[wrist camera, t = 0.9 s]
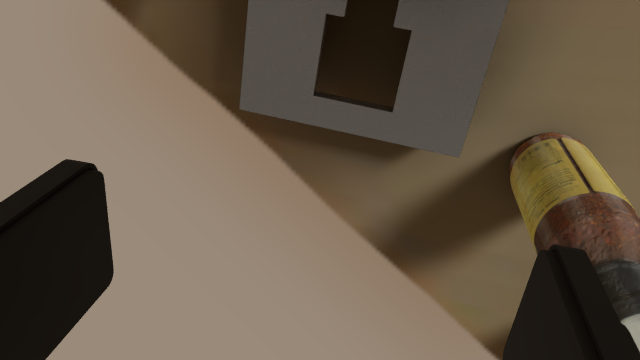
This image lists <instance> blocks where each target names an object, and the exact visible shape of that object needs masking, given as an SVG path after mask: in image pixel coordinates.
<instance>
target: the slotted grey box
mask: <svg viewBox="0 0 640 360" xmlns="http://www.w3.org/2000/svg"><path fill="white" fill-rule="evenodd" d="M348 2H349V0H248V11H247V23H246V35H245V47H244V59H243V71H242V83H241V95H240V107H239V109H240V110H245V111H249V112H254V113H258V114H263V115H268V116H272V117H277V118H281V119H286V120H290V121H295V122H299V123H304V124H309V125H313V126H318V127H322V128H327V129H331V130H336V131H340V132H345V133H349V134H354V135H359V136H363V137H368V138H372V139H377V140H381V141H386V142H390V143H395V144H400V145H404V146H409V147H413V148H418V149H422V150H427V151H431V152H436V153H440V154H445V155H450V156H454V157H459V156H460V153H461V150H462V147H463V144H464V141H465V137H466V134H467V131H468V128H469V125H470V122H471V119H472V115H473V112H474V109H475V106H476V103H477V100H478V97H479V93H480V90H481V87H482V84H483V81H484V78H485V74H486V71H487V68H488V65H489V62H490V59H491V56H492V52H493V49H494V46H495V43H496V40H497V37H498V34H499V30H500V27H501V24H502V21H503V18H504V15H505V11H506V8H507V5H508V2H509V0H399V3H398V8H397V12H396V17H395V21H394V26H393V27H396V28H401V29H406V30H411V31H412V32H411V36H410V40H409V44H408V48H407V53H406V57H405V61H404V65H403V70H402V74H401V78H400V82H399V87H398V91H397V95H396V99H395V103H394V108H392V107H388V106H383V105H378V104H374V103H369V102H364V101H360V100H355V99H350V98H345V97H341V96H336V95H331V94H327V93H322V92H317V91H316V89H317V82H318V76H319V70H320V63H321V57H322V50H323V44H324V38H325V31H326V25H327V18H328V14H331V15H336V16H341V17H345V16H346V14H347V8H348Z"/></svg>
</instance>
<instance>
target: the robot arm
mask: <svg viewBox="0 0 640 360" xmlns="http://www.w3.org/2000/svg"><path fill="white" fill-rule="evenodd" d="M112 277H113V260H112V250H111V241H110V232H109V222H108V212H107V202H106V193H105V183H104V177H103V174H102V173H101V172H100V171H98V170H97V168H96V166H95V165H94V164H92V163H86V162H81V161H75V160H68V159H66V160H64V161H62V162H60V163H59V164H57V165H56V166H54V167H53V168H51V169H50V170H48V171H47V172H45V173H44V174H42V175H41V176H39V177H38V178H36V179H35V180H33V181H32V182H30V183H29V184H27V185H26V186H24V187H23V188H21V189H20V190H19V191H17V192H15V193H14V194H12V195H11V196H10V197H8V198H7V199H5V200H4V201H2V202H0V360H45V359H46V358H47V357H48V356H49V355H50V354H51V352H52V351H53V350H54V349H55V348H56V347H57V346H58V344H59V343H60V342H61V341H62V340H63V338H64V337H65V336H66V335H67V334H68V333H69V332H70V330H71V329H72V328H73V327H74V326H75V324H76V323H77V322H78V321H79V320H80V319H81V318H82V316H83V315H84V314H85V313H86V312H87V311H88V309H89V308H90V307H91V306H92V305H93V304H94V303H95V301H96V300H97V299H98V298H99V297H100V296H101V294H102V293H103V292H104V291H105V290H106V289H107V287H108V286H109V285H110V283H111V281H112ZM503 360H640V351H639V349H638V347H637V345H636V343H635V341H634V339H633V337H632V335H631V333H630V332H629V330H628V329H627V327H626V326H625V325H623V324H622V323H621V322H620V320H619V318H618V315H617V313H616V311H615V309H614V307H613V305H612V303H611V301H610V299H609V297H608V295H607V293H606V291H605V289H604V287H603V285H602V283H601V281H600V279H599V277H598V275H597V273H596V271H595V269H594V267H593V265H592V263H591V261H590V259H589V257H588V255H587V253H586V252H585V250H583V249H578V248H572V247H567V246H561V245H555V244H553V245H552V246H551V247H550V248H549V250H540V252H539V253H538V255H537V258H536V261H535V264H534V266H533V269H532V272H531V275H530V278H529V280H528V283H527V286H526V289H525V292H524V294H523V297H522V300H521V303H520V306H519V308H518V311H517V314H516V317H515V320H514V322H513V325H512V328H511V331H510V334H509V336H508V339H507V342H506V345H505V348H504V352H503Z"/></svg>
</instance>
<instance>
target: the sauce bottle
mask: <svg viewBox="0 0 640 360" xmlns="http://www.w3.org/2000/svg"><path fill="white" fill-rule="evenodd" d="M509 177H510V183H511V187H512V190H513V193H514V196H515V199H516V201H517V204H518V206H519V209H520V211H521V214H522V216H523V219H524V222H525V224H526V227H527V230H528V232H529V235H530V237H531V240H532V243H533V245H534V248H535V250H536V253H537V255H538V253H539V252H540V250H549V248H550V247H551V246H552V245H553V244H555V245H561V246H567V247H572V248H578V249H583V250H585V252H586V253H587V255H588V257H589V259H590V261H591V263H592V265H593V267H594V269H595V271H596V273H597V275H598V277H599V279H600V281H601V283H602V285H603V287H604V289H605V291H606V293H607V295H608V297H609V299H610V301H611V303H612V305H613V307H614V309H615V311H616V313H617V315H618V318H619V320H620V322H621V323H622V324H623V325H625V326H626V327H627V329H628V330H629V332H630V333H631V335H632V337H633V339H634V341H635V343H636V345H637V347H638V349H639V351H640V219H639V216H638V214H637V212H636V211H635V209H634V208H633V207H632V205H631V204H630V203H629V201H628V200H627V199H626V197H625V196H624V195H623V193H622V192H621V191H620V189H619V188H618V187H617V186H616V184H615V183H614V182H613V181H612V179H611V178H610V177H609V175H608V174H607V173H606V171H605V170H604V169H603V167H602V166H601V165H600V164H599V162H598V161H597V160H596V158H595V157H594V156H593V155H592V153H591V152H590V151H589V150H588V149H587V148H586V147H585V146H584V145H583V144H582V143H581V142H580V141H578V140H576V139H574V138H572V137H570V136H566V135H563V134H557V133H544V134H540V135H538V136H535V137H533V138H532V139H530V140H527V141H526V142H524V143H523V144H522V145H521V146H520V147H519V148H518V149H517V150H516V152H515V153H514V155H513V157H512V159H511V162H510V167H509Z"/></svg>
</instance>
